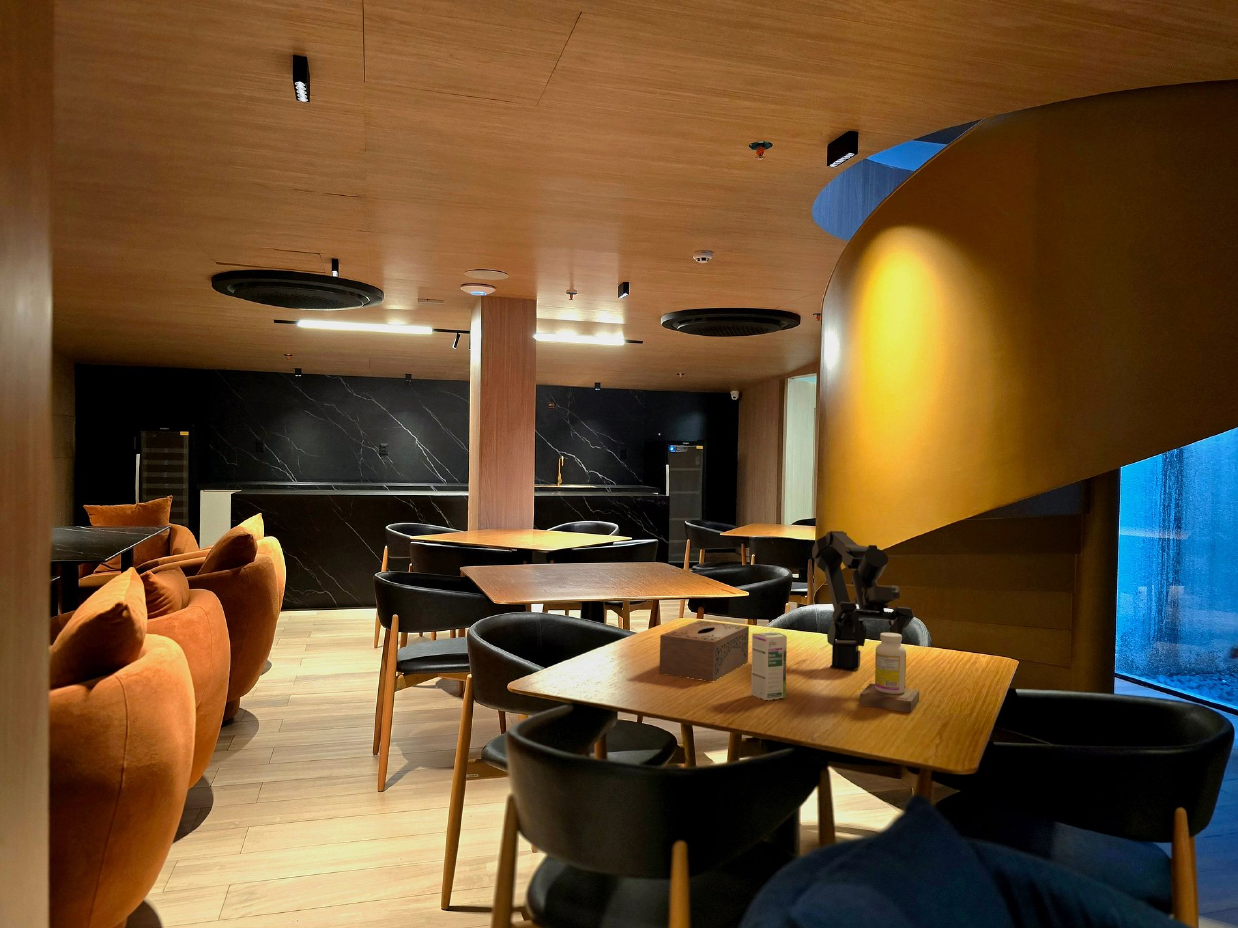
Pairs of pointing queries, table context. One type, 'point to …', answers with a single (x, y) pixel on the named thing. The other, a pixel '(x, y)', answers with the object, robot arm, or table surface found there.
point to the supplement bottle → (890, 664)
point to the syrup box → (769, 665)
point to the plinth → (889, 699)
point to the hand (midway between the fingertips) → (880, 646)
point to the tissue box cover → (704, 650)
